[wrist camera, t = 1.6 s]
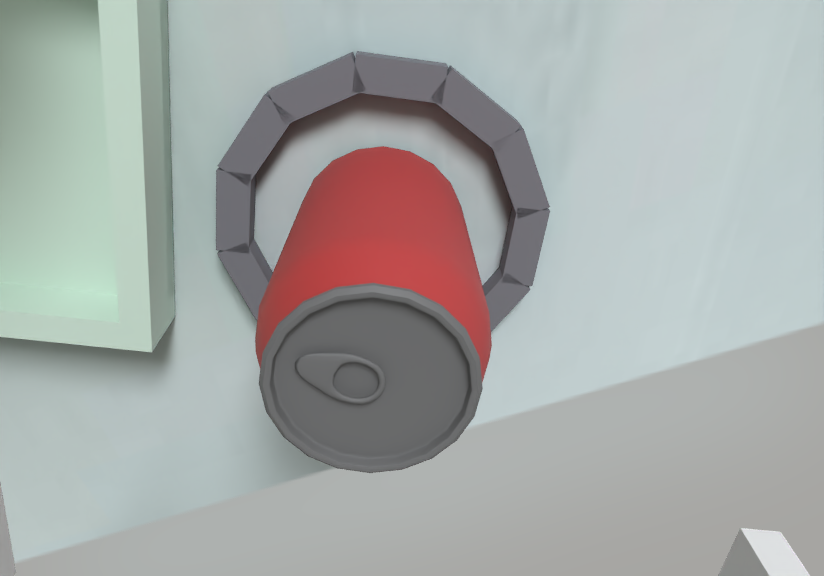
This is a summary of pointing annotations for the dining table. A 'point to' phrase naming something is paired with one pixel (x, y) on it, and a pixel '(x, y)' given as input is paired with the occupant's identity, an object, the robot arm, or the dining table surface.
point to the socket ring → (397, 82)
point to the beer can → (374, 317)
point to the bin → (85, 173)
